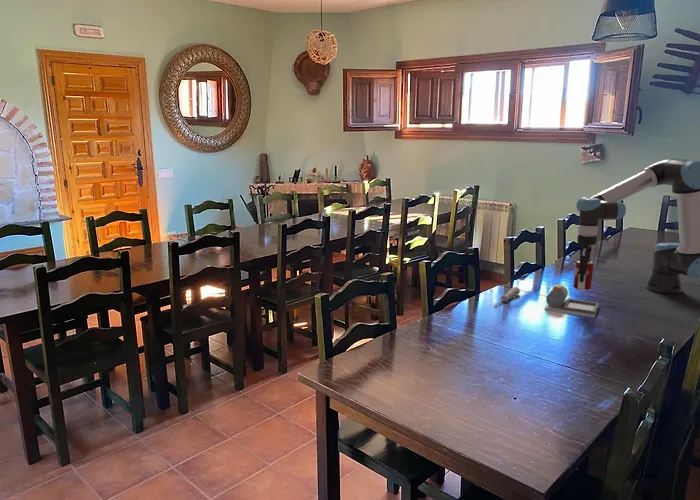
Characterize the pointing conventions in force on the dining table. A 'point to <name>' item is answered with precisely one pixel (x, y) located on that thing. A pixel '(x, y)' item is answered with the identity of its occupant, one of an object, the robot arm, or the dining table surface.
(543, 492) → the dining table surface
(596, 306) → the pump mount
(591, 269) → the soda can
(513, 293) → the screwdriver
